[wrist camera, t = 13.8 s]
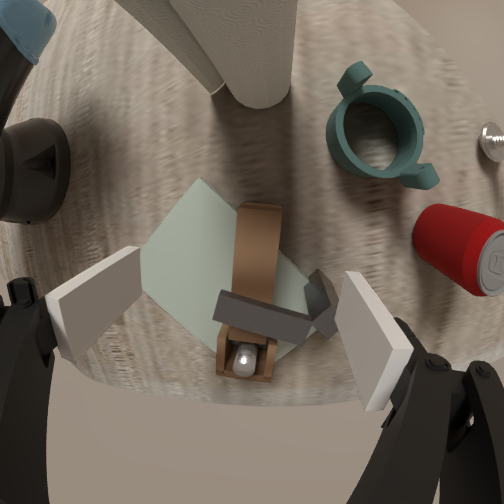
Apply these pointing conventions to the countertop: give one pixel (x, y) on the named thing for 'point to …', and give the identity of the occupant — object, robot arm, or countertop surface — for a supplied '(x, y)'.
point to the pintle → (245, 359)
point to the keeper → (282, 313)
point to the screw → (492, 141)
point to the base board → (207, 265)
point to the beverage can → (463, 247)
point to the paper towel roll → (227, 42)
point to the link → (252, 284)
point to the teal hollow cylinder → (403, 120)
